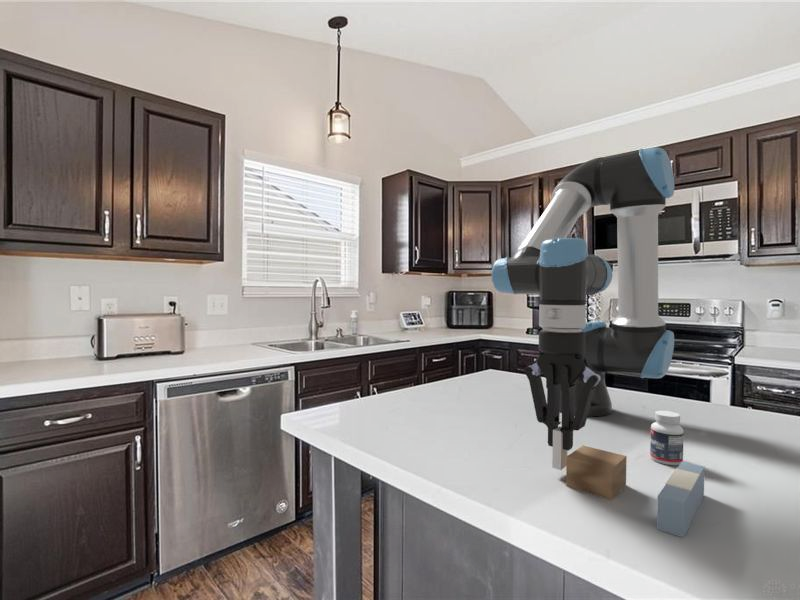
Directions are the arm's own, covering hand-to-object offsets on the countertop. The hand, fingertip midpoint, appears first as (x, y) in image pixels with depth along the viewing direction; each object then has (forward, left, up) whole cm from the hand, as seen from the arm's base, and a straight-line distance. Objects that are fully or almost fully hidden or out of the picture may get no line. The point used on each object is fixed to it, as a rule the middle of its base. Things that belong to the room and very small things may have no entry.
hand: (559, 466), depth 76 cm
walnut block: (+6, 0, -2) cm, 6 cm away
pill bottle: (+12, +20, -2) cm, 23 cm away
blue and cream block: (+18, 0, -2) cm, 18 cm away
